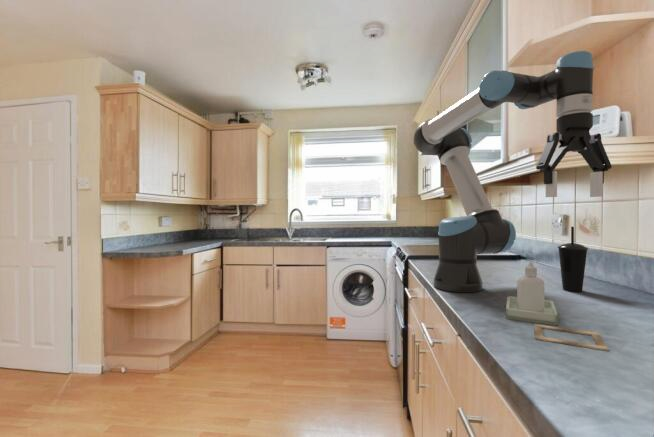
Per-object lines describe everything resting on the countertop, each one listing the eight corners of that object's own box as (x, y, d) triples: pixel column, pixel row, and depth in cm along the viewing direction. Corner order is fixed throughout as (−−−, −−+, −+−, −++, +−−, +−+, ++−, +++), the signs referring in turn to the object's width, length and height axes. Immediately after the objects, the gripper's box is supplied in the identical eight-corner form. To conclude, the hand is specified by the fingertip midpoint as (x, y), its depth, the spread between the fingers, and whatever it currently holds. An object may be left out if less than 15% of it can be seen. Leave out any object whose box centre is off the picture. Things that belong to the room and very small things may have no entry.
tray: (505, 318, 75) (505, 308, 75) (507, 304, 87) (507, 296, 87) (558, 325, 70) (558, 315, 70) (552, 309, 81) (552, 300, 81)
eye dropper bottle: (517, 306, 82) (518, 259, 81) (544, 310, 79) (544, 261, 78) (516, 311, 78) (517, 262, 78) (544, 315, 75) (545, 264, 75)
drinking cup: (593, 294, 96) (593, 227, 95) (562, 292, 98) (562, 227, 98) (581, 288, 103) (581, 226, 103) (553, 286, 105) (553, 226, 105)
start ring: (535, 339, 63) (535, 337, 63) (534, 325, 71) (534, 323, 71) (608, 351, 58) (608, 349, 58) (598, 334, 65) (598, 332, 65)
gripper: (543, 109, 78) (543, 196, 78) (630, 112, 82) (629, 195, 82) (520, 118, 85) (520, 197, 86) (600, 120, 89) (600, 197, 90)
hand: (574, 197), depth 84 cm, fingers open, 13 cm apart
